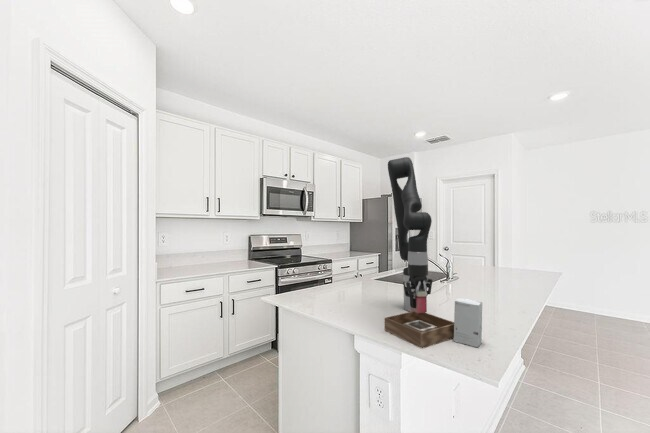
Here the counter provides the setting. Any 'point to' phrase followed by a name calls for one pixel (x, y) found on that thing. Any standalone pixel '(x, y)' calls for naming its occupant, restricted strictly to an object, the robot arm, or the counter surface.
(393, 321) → the crate
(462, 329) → the skincare box
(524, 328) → the counter surface
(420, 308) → the small box
